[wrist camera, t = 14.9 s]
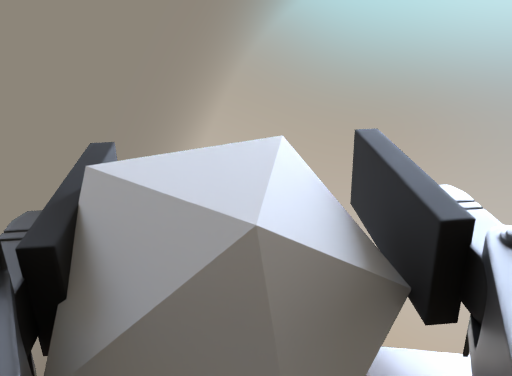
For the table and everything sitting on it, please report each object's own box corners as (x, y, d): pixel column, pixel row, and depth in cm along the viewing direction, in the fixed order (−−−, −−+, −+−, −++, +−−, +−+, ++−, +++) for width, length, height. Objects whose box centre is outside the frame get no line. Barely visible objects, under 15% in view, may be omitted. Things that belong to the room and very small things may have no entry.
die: (383, 658, 10) (525, 198, 11) (-108, 624, 7) (152, 5, 8) (248, 442, 18) (338, 190, 19) (-6, 386, 15) (117, 92, 16)
